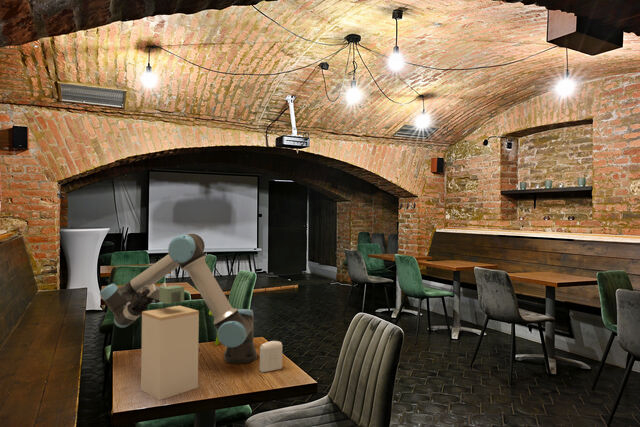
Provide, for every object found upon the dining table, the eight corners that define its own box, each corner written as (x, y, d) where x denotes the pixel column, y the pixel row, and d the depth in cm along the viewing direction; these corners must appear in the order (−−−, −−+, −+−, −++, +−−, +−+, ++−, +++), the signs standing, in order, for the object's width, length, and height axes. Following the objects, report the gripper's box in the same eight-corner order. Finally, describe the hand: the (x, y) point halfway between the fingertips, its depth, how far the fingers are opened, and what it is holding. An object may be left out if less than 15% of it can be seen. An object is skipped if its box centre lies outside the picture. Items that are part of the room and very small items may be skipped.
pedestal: (197, 387, 173) (198, 310, 173) (159, 400, 162) (160, 317, 162) (178, 378, 183) (179, 305, 183) (141, 389, 171) (142, 311, 171)
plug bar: (184, 301, 172) (184, 286, 172) (167, 303, 167) (167, 289, 167) (155, 293, 187) (155, 280, 187) (139, 296, 182) (139, 282, 182)
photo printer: (279, 366, 199) (279, 338, 199) (283, 369, 195) (283, 340, 195) (258, 370, 193) (258, 342, 193) (262, 373, 190) (262, 344, 190)
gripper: (156, 313, 196) (181, 292, 183) (117, 319, 184) (141, 298, 170) (152, 297, 199) (176, 275, 185) (113, 302, 186) (137, 280, 173)
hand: (159, 286), depth 178 cm, fingers closed on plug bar, 4 cm apart
